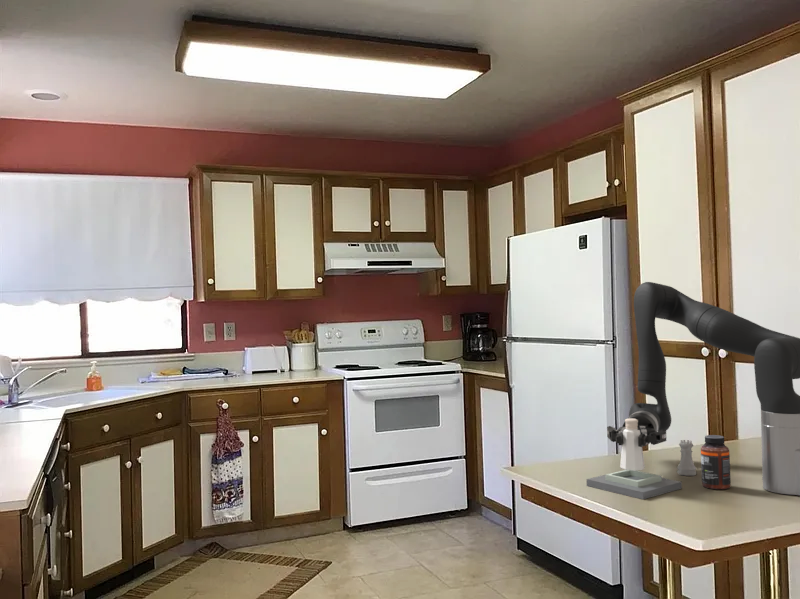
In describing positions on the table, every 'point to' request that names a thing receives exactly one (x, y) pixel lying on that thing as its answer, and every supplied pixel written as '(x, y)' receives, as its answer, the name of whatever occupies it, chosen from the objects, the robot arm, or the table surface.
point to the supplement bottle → (715, 463)
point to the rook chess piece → (686, 459)
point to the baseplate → (634, 483)
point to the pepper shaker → (631, 447)
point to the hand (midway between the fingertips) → (630, 441)
